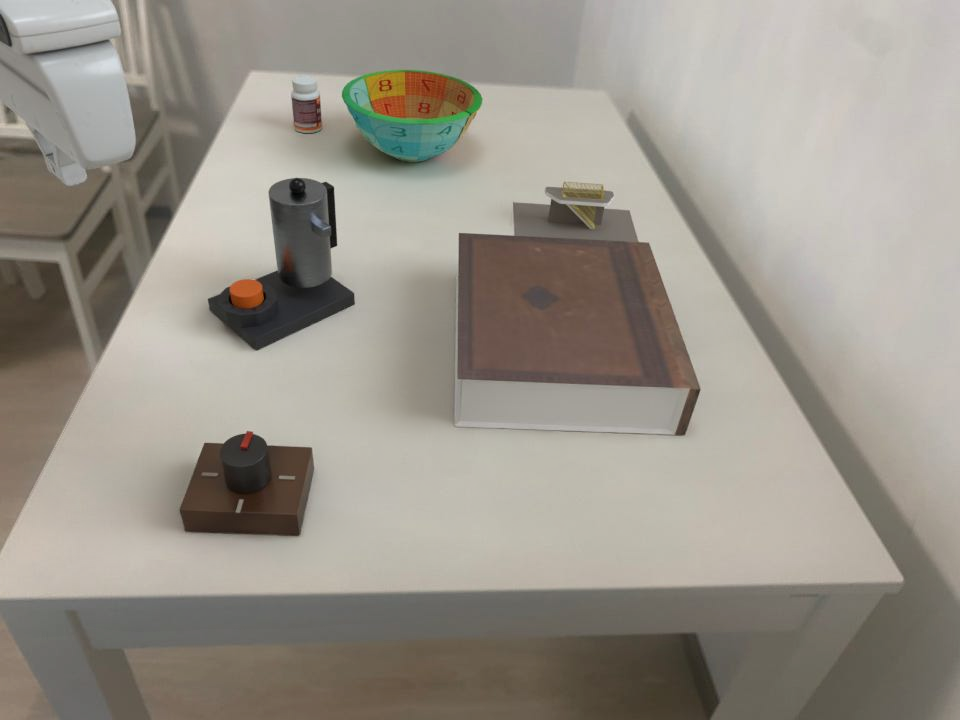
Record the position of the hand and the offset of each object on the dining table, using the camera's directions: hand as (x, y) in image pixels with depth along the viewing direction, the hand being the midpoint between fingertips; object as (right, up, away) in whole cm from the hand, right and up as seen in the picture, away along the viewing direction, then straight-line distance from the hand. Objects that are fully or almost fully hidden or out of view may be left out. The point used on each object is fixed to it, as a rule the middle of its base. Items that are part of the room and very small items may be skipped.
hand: (68, 177), depth 59 cm
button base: (+8, -8, +34) cm, 36 cm away
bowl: (+20, +21, +70) cm, 75 cm away
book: (+41, -13, +32) cm, 54 cm away
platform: (+46, +6, +54) cm, 71 cm away
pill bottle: (+2, +26, +74) cm, 79 cm away
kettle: (+12, -4, +34) cm, 36 cm away
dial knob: (+11, -24, +9) cm, 28 cm away
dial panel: (+11, -27, +11) cm, 31 cm away
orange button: (+5, -7, +30) cm, 31 cm away
